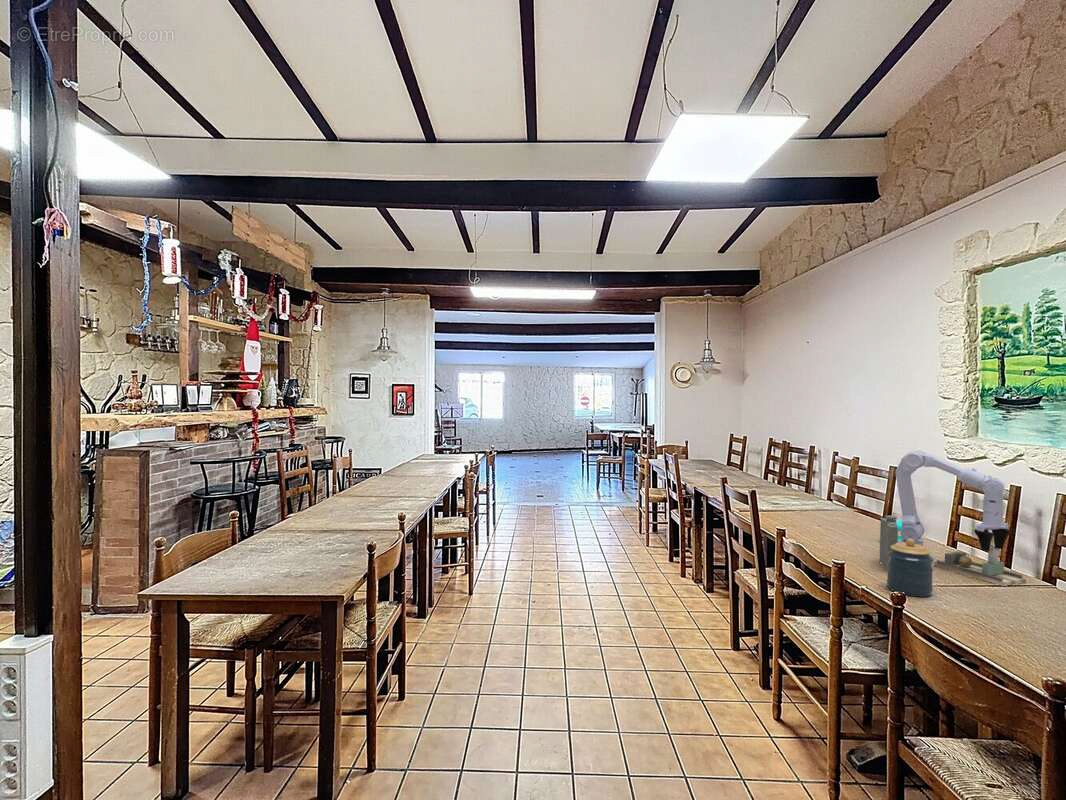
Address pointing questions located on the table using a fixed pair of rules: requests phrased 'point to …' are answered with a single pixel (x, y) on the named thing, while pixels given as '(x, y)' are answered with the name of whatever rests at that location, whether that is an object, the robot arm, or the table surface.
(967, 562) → the walnut
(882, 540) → the hip flask
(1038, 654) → the table surface
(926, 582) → the canister
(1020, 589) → the table surface
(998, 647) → the table surface
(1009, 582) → the base
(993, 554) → the sliding jaw
